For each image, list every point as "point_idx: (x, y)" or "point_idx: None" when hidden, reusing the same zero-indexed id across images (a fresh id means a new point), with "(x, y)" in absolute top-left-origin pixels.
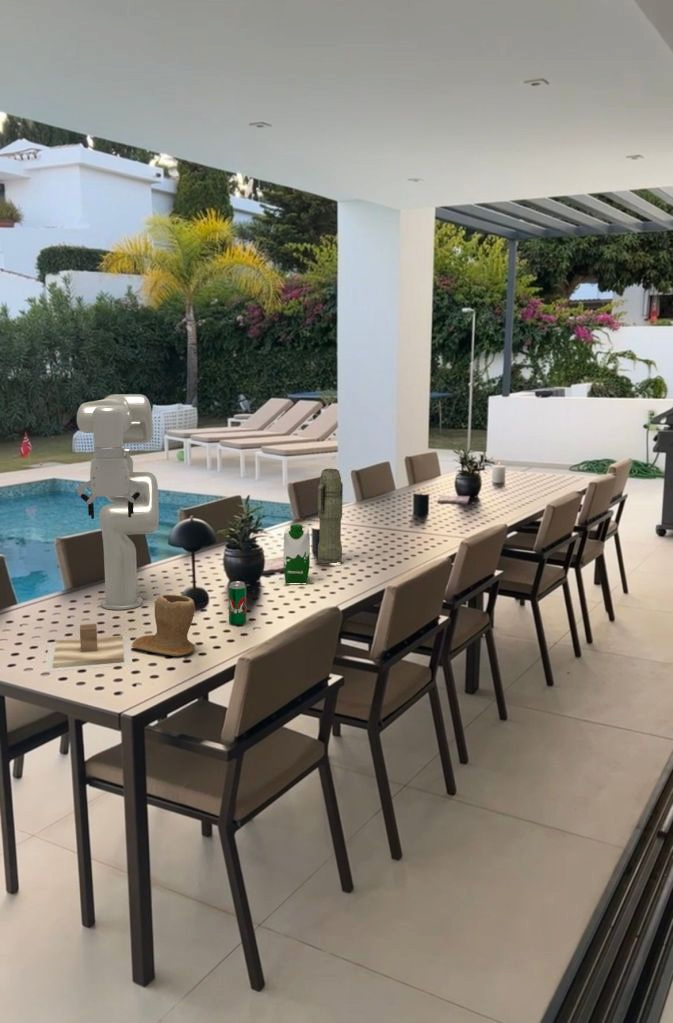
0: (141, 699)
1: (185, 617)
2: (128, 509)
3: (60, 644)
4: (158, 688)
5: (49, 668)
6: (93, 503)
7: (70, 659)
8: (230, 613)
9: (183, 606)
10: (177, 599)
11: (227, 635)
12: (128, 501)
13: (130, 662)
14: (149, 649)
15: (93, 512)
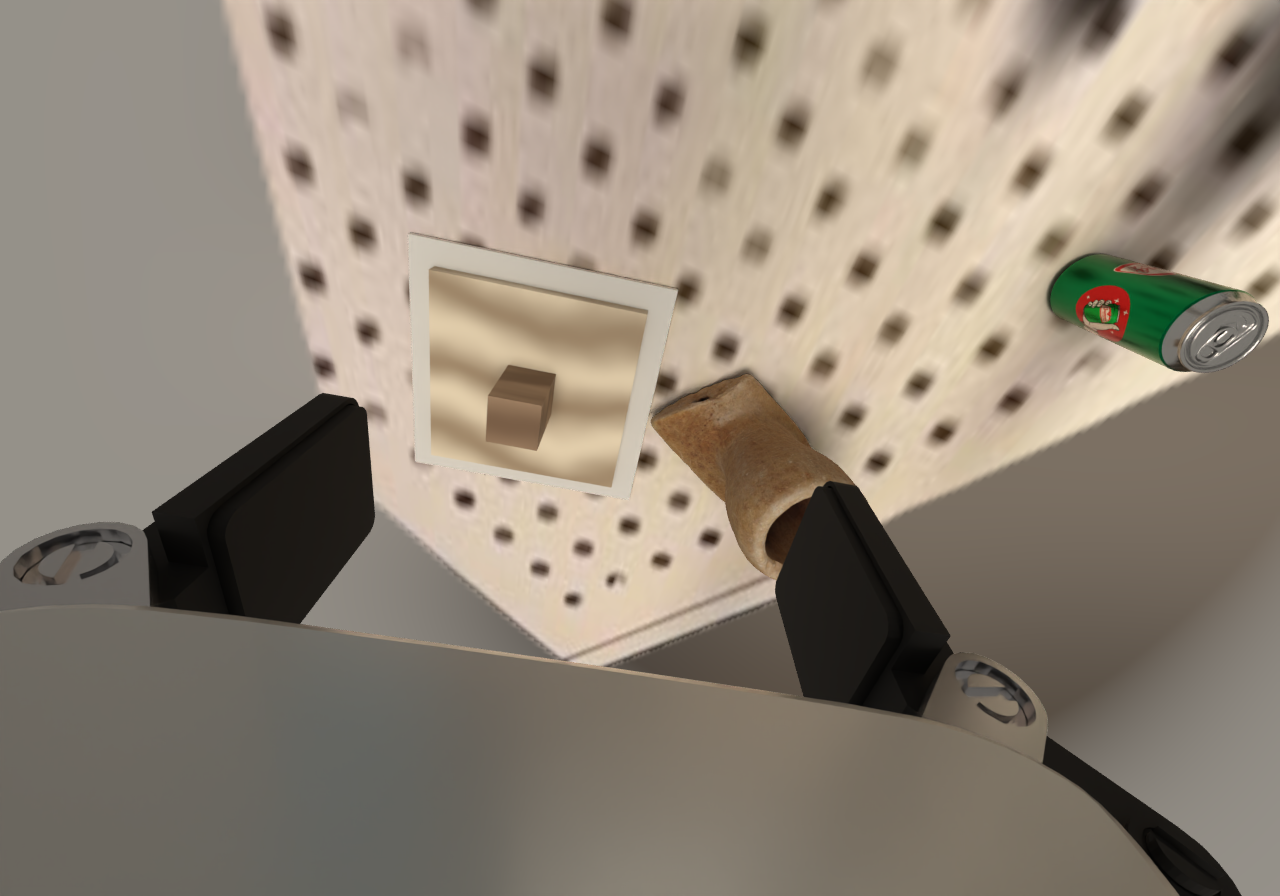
0: (608, 633)
1: None
2: (797, 666)
3: (444, 317)
4: (651, 608)
5: (427, 448)
6: (232, 574)
7: (476, 447)
8: (1075, 309)
9: None
10: None
11: (964, 388)
12: (892, 673)
13: (627, 488)
14: (688, 465)
15: (329, 579)
